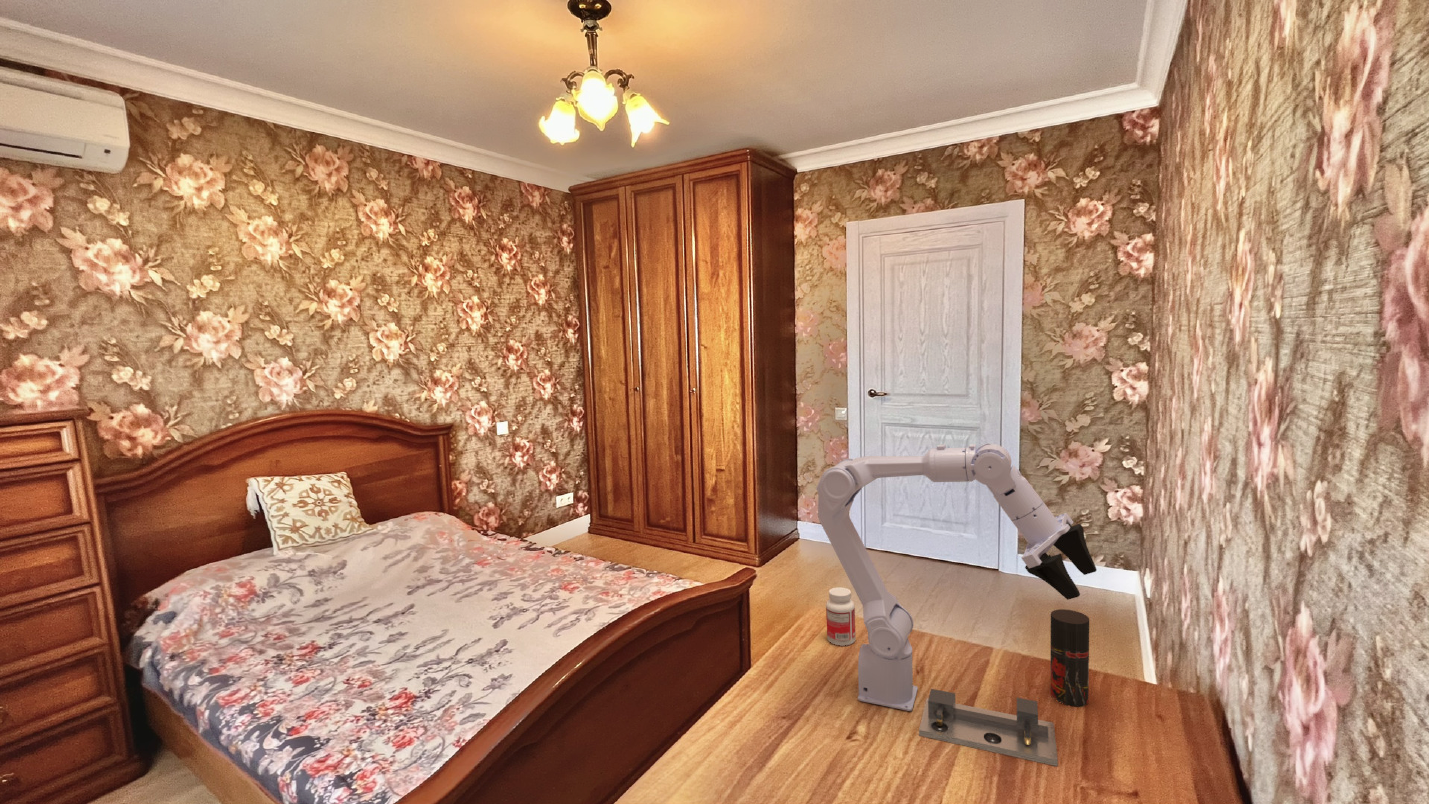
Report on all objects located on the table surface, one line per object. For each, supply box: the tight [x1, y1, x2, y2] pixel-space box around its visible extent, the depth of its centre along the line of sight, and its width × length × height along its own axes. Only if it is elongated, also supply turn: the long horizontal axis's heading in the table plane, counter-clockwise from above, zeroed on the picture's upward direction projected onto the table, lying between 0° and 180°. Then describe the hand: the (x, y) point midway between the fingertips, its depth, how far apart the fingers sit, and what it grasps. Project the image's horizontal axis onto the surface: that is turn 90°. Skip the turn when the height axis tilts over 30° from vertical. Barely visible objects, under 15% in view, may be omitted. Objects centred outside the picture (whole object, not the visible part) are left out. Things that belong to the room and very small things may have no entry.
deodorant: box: [1049, 608, 1090, 708], centre depth 110 cm, size 6×6×15 cm
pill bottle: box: [825, 586, 857, 647], centre depth 135 cm, size 6×6×11 cm
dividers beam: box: [928, 688, 1048, 738], centre depth 102 cm, size 18×6×3 cm, turn 64°
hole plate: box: [918, 697, 1059, 767], centre depth 102 cm, size 20×10×1 cm, turn 64°
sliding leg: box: [1016, 697, 1039, 745], centre depth 99 cm, size 3×6×4 cm, turn 154°
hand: (1082, 584), depth 97 cm, fingers open, 7 cm apart
